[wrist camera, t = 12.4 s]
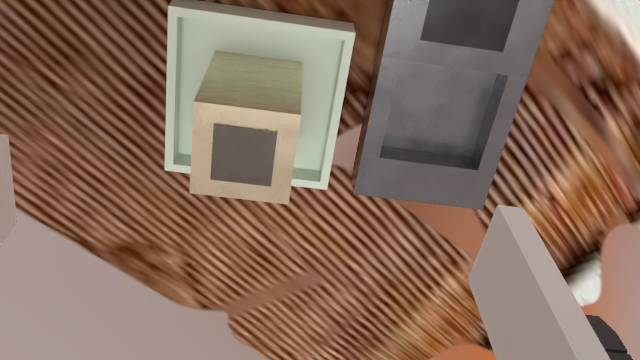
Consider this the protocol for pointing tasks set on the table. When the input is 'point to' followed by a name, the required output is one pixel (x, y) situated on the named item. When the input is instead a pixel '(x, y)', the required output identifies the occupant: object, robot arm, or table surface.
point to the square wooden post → (246, 127)
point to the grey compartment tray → (445, 97)
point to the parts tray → (267, 41)
